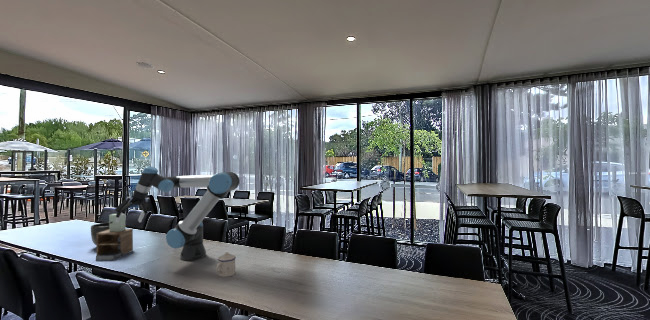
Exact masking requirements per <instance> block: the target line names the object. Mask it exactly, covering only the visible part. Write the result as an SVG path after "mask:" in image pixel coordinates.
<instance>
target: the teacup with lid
mask: <svg viewBox="0 0 650 320" xmlns="http://www.w3.org/2000/svg"><path fill="white" fill-rule="evenodd" d="M217 260H218V264H217V265H216V267H215V271H216V272H217V274H218V276H219V277H223V278H228V277H231V276H233V275H235V274H236V255H234V254H231V253H230V252H229V251H227V252H224V254H222V255H220V256H219V257H218V259H217Z"/></svg>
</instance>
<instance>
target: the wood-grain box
mask: <svg viewBox="0 0 650 320" xmlns="http://www.w3.org/2000/svg"><path fill="white" fill-rule="evenodd" d="M133 235H134V234H133V228H125V230H124V231H110V229H108V230H105V231H102V232H99V233H96V245H95V246H96V256H98V255H100V254H102V253H105V252H123V256H124V255H126V254H128V253H131V252H133V250H134V243H133V242H134V241H133V240H134V239H133V238H134V237H133ZM118 237H121V243H118ZM118 245H121V251H118Z"/></svg>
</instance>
